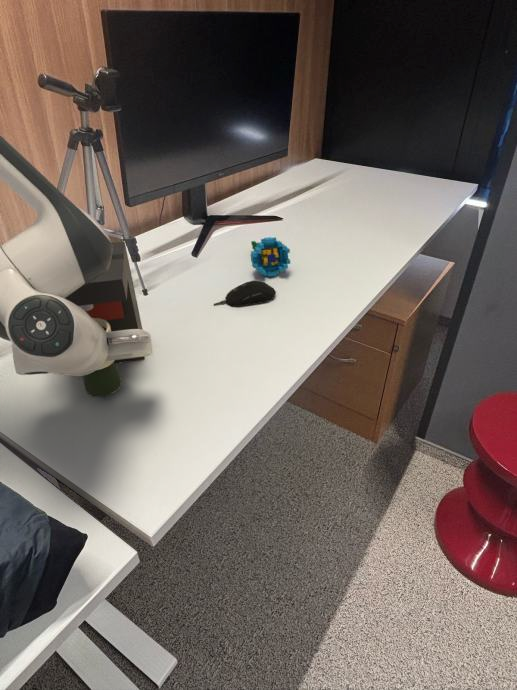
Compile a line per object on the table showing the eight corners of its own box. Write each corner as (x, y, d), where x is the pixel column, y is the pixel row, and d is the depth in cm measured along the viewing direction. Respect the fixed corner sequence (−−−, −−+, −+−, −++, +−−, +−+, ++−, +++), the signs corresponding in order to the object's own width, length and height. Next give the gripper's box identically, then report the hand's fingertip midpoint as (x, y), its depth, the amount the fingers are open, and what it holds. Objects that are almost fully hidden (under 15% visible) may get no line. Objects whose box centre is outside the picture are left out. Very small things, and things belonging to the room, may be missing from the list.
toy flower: (273, 260, 134) (291, 275, 118) (242, 264, 132) (256, 280, 116) (271, 227, 131) (290, 238, 114) (239, 231, 129) (253, 242, 113)
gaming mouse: (210, 298, 112) (209, 283, 110) (270, 287, 116) (270, 272, 113) (217, 312, 107) (215, 297, 105) (279, 300, 111) (279, 285, 108)
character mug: (89, 370, 91) (72, 312, 83) (127, 367, 91) (114, 309, 83) (78, 411, 82) (58, 351, 74) (120, 407, 83) (105, 348, 75)
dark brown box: (66, 393, 87) (29, 289, 74) (74, 347, 98) (43, 249, 85) (144, 382, 89) (122, 279, 76) (144, 338, 100) (124, 241, 87)
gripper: (146, 315, 71) (154, 330, 85) (0, 332, 68) (33, 345, 82) (151, 356, 71) (158, 366, 84) (4, 376, 68) (36, 382, 81)
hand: (95, 356), depth 83 cm, fingers closed on character mug, 7 cm apart
